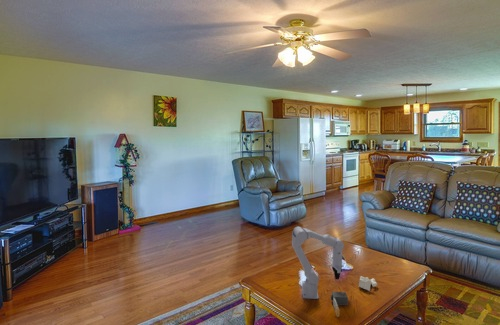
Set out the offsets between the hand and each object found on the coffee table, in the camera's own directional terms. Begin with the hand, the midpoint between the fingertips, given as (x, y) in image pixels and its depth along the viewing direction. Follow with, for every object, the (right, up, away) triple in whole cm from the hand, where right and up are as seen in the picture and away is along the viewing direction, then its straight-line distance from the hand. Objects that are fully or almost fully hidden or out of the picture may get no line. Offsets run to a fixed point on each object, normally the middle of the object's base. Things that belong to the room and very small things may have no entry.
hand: (336, 278), depth 188 cm
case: (-1, -10, -9) cm, 14 cm away
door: (-6, -11, -18) cm, 22 cm away
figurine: (+17, -5, +3) cm, 18 cm away
